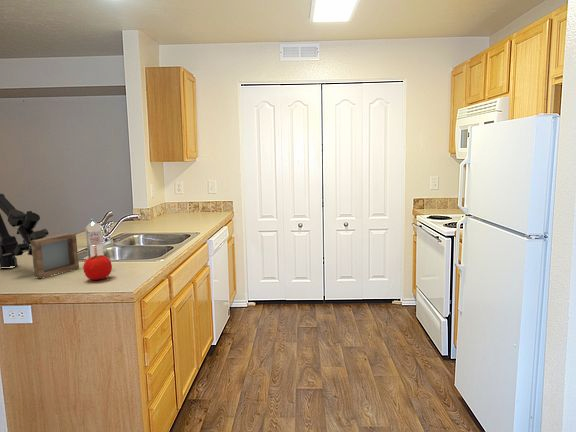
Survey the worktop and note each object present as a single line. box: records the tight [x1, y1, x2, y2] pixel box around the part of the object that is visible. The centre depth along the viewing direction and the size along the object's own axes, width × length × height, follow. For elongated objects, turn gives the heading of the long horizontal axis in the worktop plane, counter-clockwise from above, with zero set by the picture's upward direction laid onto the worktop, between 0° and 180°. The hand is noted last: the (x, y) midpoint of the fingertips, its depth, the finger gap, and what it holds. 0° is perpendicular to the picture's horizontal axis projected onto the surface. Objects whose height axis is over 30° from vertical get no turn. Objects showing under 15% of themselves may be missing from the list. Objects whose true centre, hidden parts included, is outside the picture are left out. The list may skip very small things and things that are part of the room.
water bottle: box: [85, 218, 105, 259], centre depth 213 cm, size 7×7×25 cm
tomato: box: [82, 254, 113, 281], centre depth 198 cm, size 12×12×11 cm
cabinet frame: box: [31, 232, 80, 279], centre depth 211 cm, size 4×20×18 cm, turn 152°
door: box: [41, 239, 70, 270], centre depth 213 cm, size 3×17×16 cm, turn 153°
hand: (45, 260), depth 211 cm, fingers closed, pressing on door
